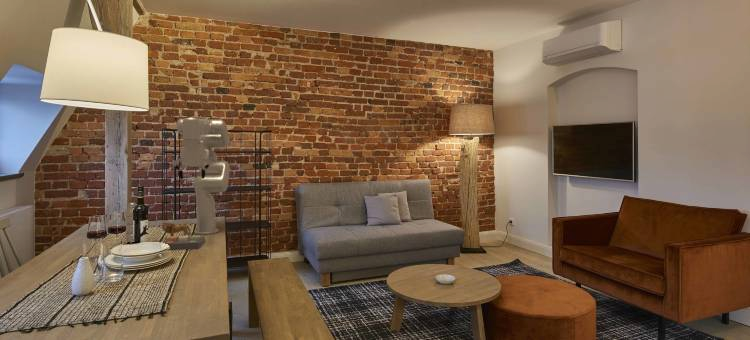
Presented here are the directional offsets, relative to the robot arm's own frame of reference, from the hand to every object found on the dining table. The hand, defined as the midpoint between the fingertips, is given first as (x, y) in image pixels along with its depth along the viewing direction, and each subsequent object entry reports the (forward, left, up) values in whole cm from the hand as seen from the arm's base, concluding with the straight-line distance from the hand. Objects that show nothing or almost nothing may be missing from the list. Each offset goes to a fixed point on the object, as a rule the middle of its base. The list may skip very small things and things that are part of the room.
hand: (192, 178), depth 205 cm
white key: (+4, -4, -30) cm, 30 cm away
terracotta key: (+4, -9, -30) cm, 31 cm away
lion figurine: (-14, -12, -32) cm, 38 cm away
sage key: (+4, +2, -30) cm, 30 cm away
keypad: (+5, -4, -32) cm, 33 cm away
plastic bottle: (-6, -31, -32) cm, 45 cm away
